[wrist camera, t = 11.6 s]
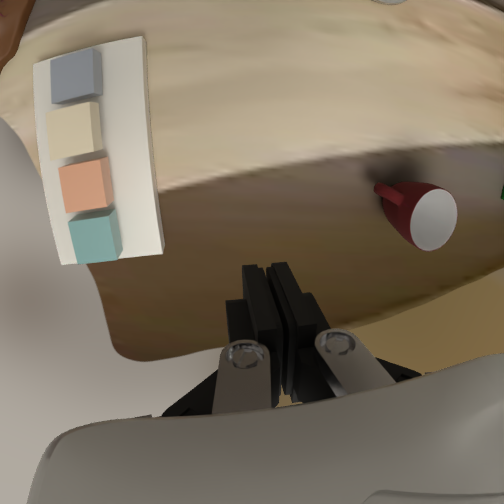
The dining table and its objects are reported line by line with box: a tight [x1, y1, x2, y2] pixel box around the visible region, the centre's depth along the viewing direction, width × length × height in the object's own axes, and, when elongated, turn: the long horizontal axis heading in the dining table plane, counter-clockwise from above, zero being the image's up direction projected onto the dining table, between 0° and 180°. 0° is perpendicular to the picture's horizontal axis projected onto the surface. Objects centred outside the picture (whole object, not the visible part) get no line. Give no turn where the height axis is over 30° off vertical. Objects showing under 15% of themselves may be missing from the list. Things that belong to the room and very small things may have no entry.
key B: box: [46, 102, 103, 161], centre depth 28 cm, size 5×5×6 cm
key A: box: [50, 48, 103, 105], centre depth 28 cm, size 5×5×6 cm
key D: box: [68, 209, 123, 264], centre depth 35 cm, size 5×5×6 cm
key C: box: [58, 157, 114, 213], centre depth 32 cm, size 5×5×6 cm
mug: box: [374, 182, 457, 251], centre depth 38 cm, size 10×8×10 cm
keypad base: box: [33, 36, 165, 265], centre depth 33 cm, size 26×14×3 cm, turn 3°
